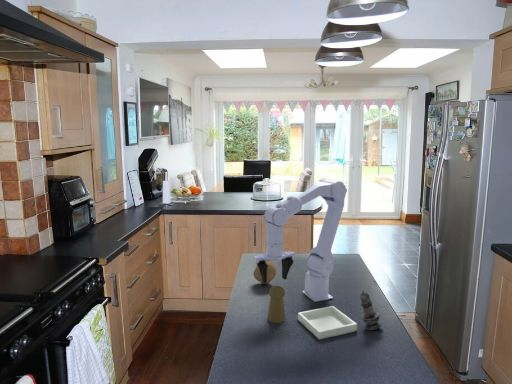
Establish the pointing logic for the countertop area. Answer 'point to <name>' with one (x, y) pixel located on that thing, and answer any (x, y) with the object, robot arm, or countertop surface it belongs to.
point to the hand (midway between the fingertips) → (274, 280)
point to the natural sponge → (270, 273)
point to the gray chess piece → (369, 313)
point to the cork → (276, 305)
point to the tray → (327, 322)
